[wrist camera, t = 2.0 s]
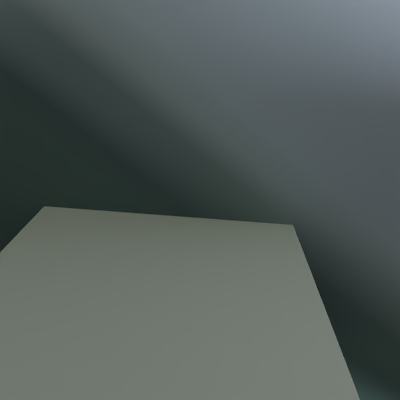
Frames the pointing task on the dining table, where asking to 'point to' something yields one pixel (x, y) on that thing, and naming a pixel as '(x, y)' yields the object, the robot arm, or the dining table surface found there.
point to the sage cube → (163, 311)
